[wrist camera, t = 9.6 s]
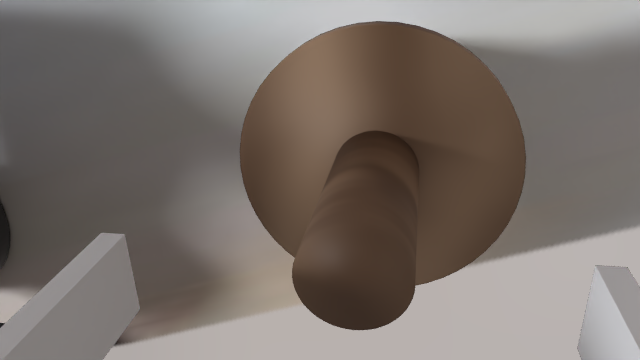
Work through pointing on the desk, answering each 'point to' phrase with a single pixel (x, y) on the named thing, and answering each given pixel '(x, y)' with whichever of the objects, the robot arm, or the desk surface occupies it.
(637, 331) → the robot arm
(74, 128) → the desk surface
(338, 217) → the lid
